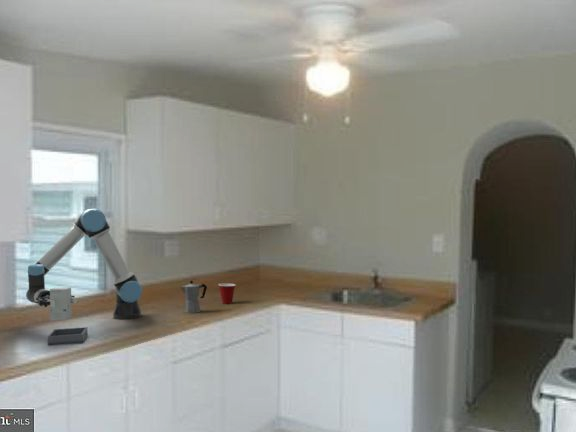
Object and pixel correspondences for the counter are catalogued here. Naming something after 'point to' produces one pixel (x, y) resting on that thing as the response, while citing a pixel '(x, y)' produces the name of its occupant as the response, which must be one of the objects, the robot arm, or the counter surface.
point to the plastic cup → (227, 292)
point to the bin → (68, 336)
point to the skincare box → (60, 304)
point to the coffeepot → (193, 297)
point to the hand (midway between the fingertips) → (64, 302)
